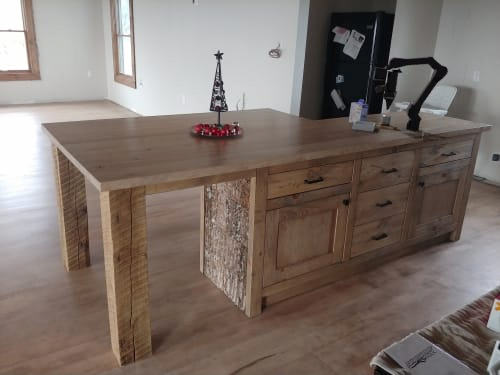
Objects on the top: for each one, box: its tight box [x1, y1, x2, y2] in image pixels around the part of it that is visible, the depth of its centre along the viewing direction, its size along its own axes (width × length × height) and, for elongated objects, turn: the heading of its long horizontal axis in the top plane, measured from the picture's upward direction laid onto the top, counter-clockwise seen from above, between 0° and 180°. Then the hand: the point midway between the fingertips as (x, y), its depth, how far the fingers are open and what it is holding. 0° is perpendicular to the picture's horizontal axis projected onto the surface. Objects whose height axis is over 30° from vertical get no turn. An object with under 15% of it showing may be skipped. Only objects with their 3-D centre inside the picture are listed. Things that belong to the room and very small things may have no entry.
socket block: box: [375, 122, 396, 131], centre depth 260 cm, size 10×10×2 cm
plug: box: [381, 114, 393, 127], centre depth 259 cm, size 5×5×7 cm
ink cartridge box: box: [348, 98, 369, 124], centre depth 270 cm, size 10×6×14 cm, turn 29°
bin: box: [351, 121, 377, 134], centre depth 253 cm, size 11×11×4 cm
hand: (388, 108), depth 257 cm, fingers open, 9 cm apart
